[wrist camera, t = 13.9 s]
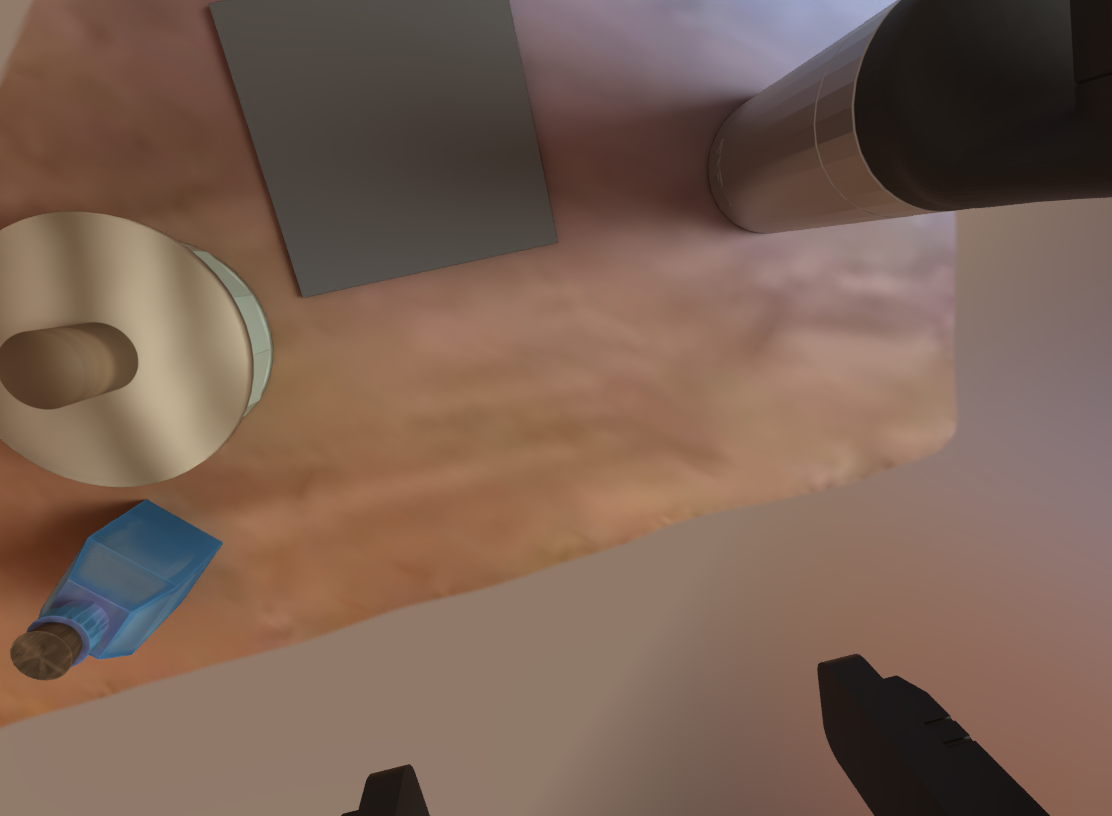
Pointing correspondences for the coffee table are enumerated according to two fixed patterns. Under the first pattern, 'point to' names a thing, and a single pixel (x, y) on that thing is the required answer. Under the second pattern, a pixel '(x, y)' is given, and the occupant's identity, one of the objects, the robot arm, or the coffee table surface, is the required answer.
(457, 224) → the mat
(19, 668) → the perfume bottle
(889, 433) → the coffee table surface
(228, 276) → the bowl
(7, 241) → the lid
